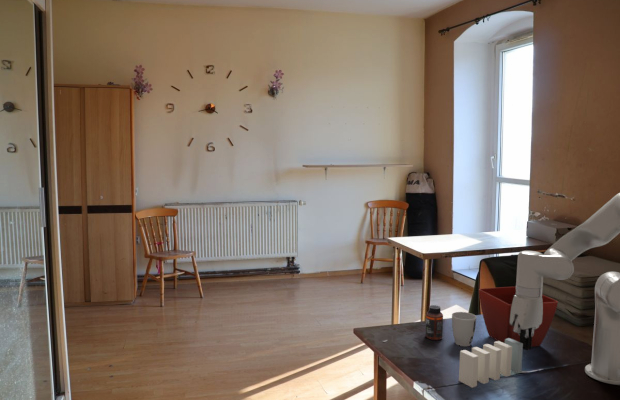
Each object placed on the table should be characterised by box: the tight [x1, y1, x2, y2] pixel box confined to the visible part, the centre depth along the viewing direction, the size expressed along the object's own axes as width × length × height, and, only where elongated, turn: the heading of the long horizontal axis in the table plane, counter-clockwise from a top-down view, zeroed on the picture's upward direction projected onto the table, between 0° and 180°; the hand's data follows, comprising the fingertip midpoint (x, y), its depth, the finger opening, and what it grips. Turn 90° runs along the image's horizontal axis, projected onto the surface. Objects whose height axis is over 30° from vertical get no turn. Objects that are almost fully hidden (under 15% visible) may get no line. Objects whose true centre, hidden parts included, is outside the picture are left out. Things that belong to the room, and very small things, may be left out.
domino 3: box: [482, 343, 501, 381], centre depth 152 cm, size 5×2×9 cm, turn 30°
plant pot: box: [478, 286, 559, 348], centre depth 179 cm, size 19×19×17 cm
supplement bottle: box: [425, 304, 444, 341], centre depth 181 cm, size 6×6×11 cm
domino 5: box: [505, 338, 524, 374], centre depth 156 cm, size 5×2×9 cm, turn 29°
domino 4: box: [493, 340, 512, 378], centre depth 154 cm, size 5×2×9 cm, turn 30°
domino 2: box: [471, 346, 490, 385], centre depth 149 cm, size 5×2×9 cm, turn 30°
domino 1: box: [458, 349, 478, 388], centre depth 147 cm, size 5×2×9 cm, turn 30°
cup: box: [451, 311, 477, 347], centre depth 176 cm, size 8×8×10 cm
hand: (525, 348), depth 159 cm, fingers closed
